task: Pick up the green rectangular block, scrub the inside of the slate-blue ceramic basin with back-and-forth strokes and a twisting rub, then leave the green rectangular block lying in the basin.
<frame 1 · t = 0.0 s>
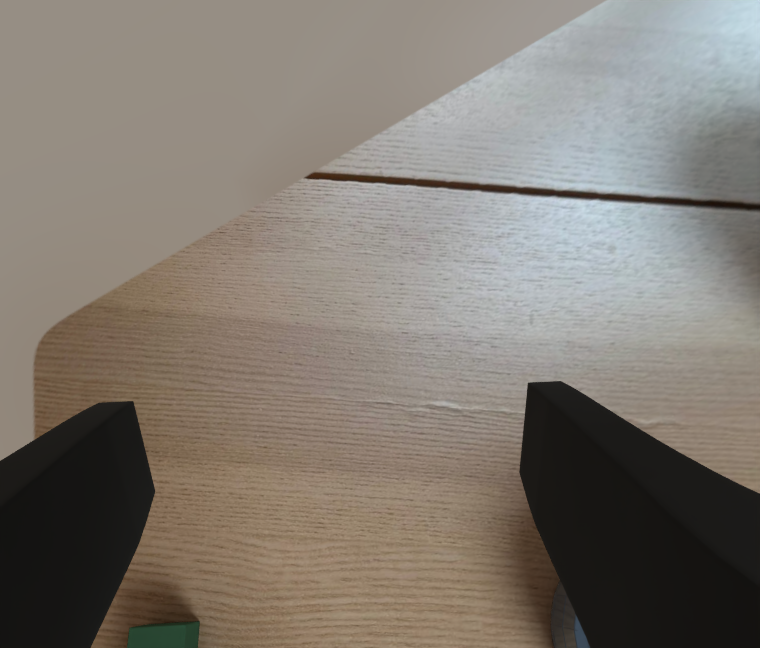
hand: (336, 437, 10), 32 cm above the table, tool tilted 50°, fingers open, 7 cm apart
basin: (635, 633, 37), on the table
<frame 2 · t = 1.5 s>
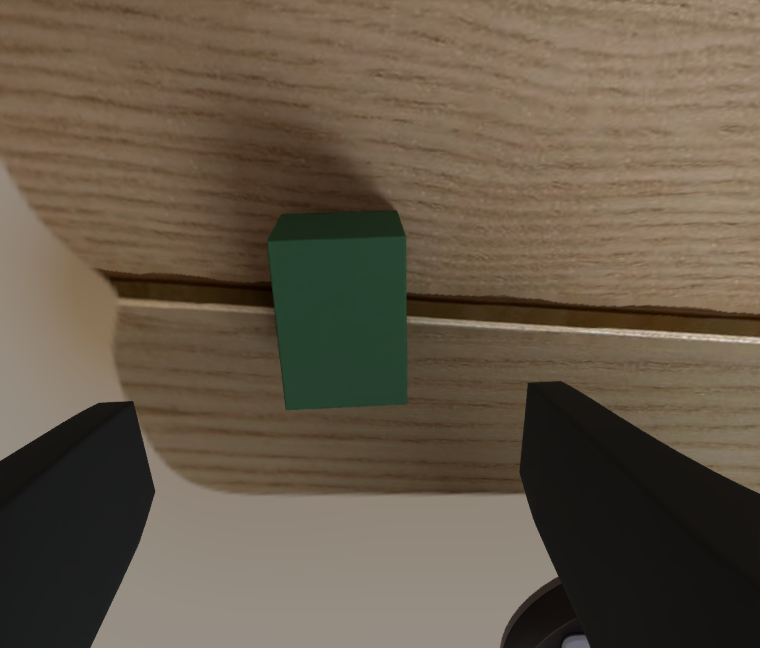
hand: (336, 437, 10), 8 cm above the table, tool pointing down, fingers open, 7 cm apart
green rectangular block: (343, 290, 17), on the table
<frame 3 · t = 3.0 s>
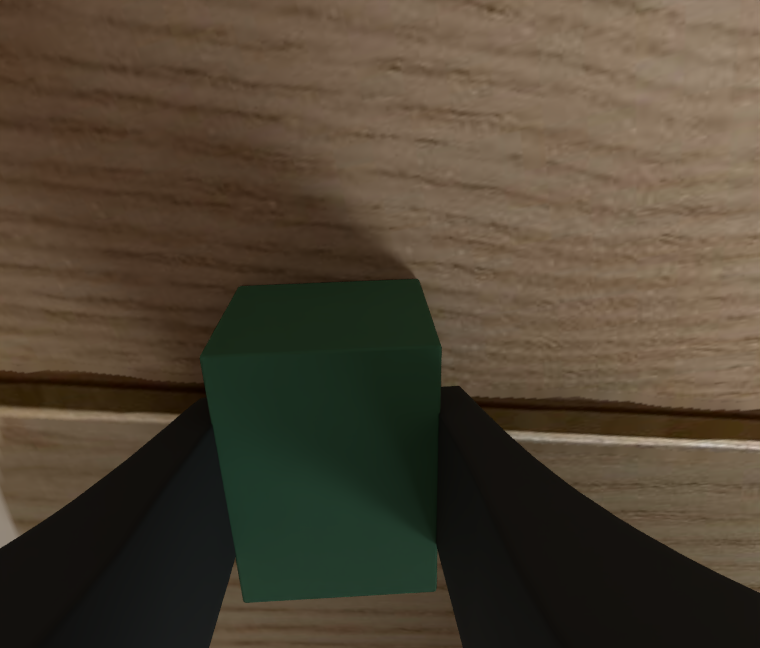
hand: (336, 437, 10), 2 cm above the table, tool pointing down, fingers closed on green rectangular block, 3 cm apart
green rectangular block: (336, 392, 12), on the table, touching gripper
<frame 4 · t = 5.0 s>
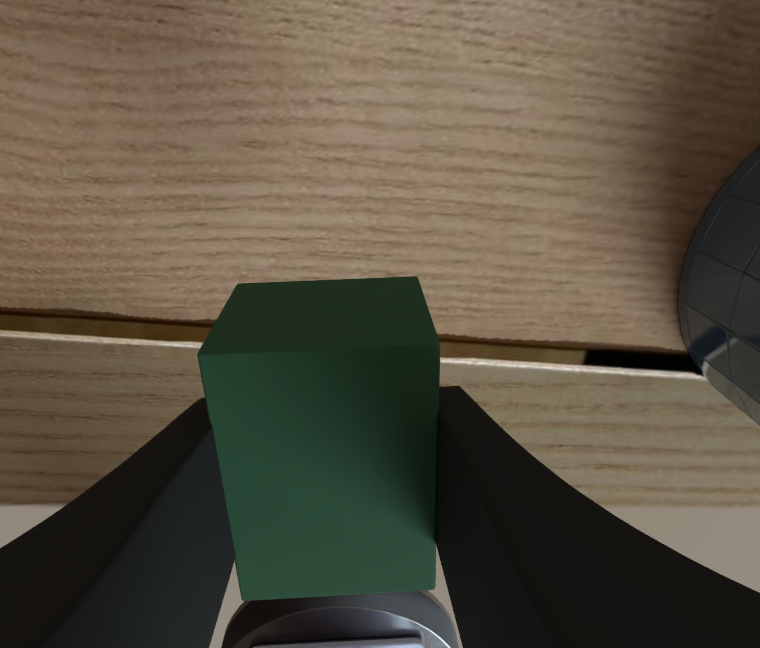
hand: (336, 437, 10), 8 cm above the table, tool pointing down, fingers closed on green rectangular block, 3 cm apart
green rectangular block: (335, 390, 12), point 7 cm above the table, touching gripper
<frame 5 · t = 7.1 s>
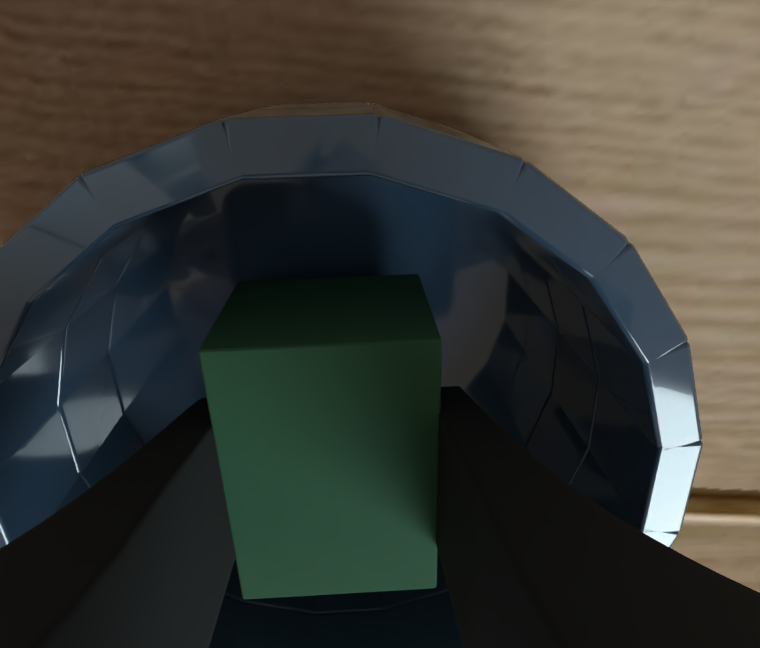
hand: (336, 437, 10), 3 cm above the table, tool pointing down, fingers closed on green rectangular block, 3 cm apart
basin: (338, 360, 13), on the table
green rectangular block: (336, 389, 12), point 2 cm above the table, touching gripper
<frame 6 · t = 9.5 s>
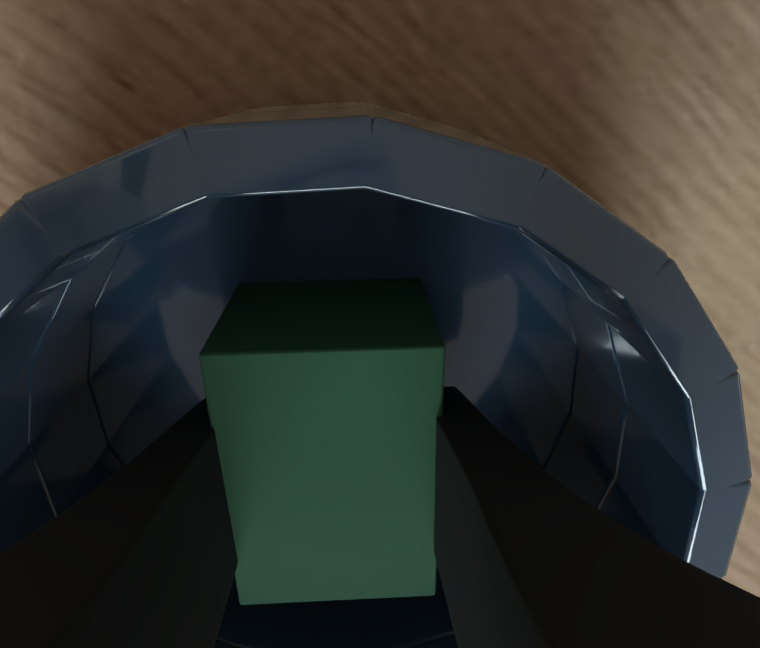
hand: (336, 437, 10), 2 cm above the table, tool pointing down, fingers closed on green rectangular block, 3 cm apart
basin: (338, 381, 12), on the table
green rectangular block: (336, 392, 11), point 1 cm above the table, touching gripper
when the fingers open (2 cm above the table, at t = 12.1 s): green rectangular block stays where it is, resting on basin.
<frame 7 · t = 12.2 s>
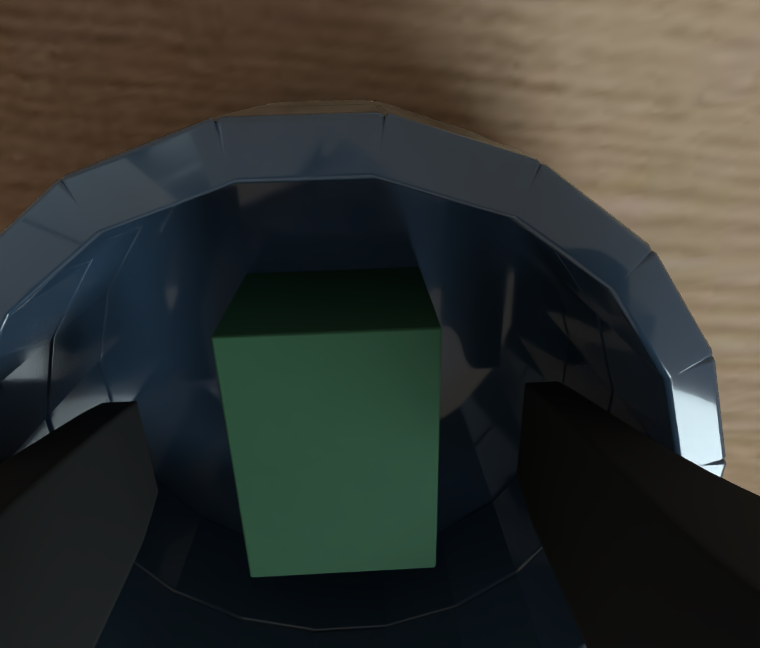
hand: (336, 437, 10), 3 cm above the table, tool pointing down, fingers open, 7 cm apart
basin: (340, 367, 13), on the table
green rectangular block: (339, 378, 12), point 1 cm above the table, touching basin
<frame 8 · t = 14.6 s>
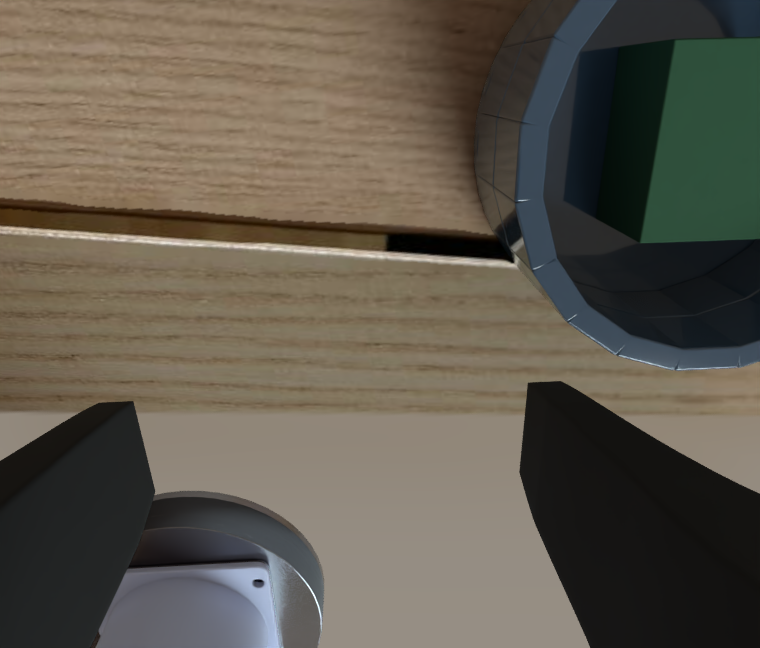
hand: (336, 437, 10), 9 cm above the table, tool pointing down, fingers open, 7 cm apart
basin: (651, 136, 17), on the table
green rectangular block: (662, 136, 17), point 1 cm above the table, touching basin
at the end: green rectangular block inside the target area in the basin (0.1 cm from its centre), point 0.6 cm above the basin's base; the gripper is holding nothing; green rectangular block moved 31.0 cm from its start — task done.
